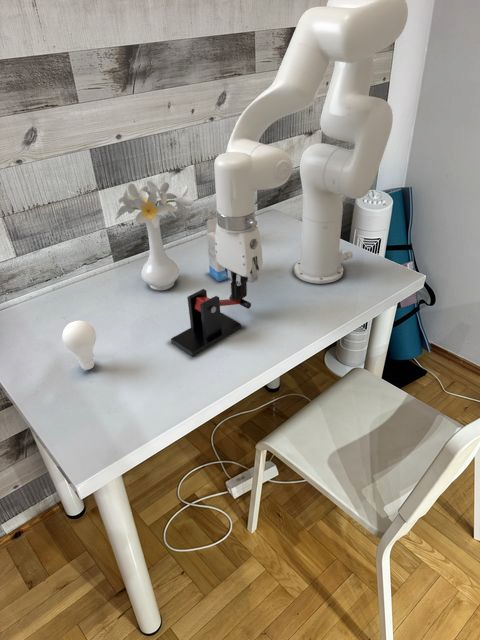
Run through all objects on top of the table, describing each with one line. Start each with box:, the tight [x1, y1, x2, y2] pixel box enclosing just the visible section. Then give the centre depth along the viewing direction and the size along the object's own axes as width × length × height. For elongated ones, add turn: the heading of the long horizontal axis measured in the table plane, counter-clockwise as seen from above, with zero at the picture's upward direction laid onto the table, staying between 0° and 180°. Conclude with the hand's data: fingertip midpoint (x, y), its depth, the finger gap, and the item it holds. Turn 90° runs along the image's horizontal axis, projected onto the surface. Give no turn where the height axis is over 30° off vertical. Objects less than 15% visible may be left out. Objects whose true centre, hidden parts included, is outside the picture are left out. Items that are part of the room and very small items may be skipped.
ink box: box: [206, 218, 229, 282], centre depth 126 cm, size 8×5×15 cm, turn 123°
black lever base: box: [170, 288, 242, 358], centre depth 106 cm, size 14×7×10 cm, turn 136°
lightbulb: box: [61, 320, 97, 371], centre depth 98 cm, size 6×6×11 cm
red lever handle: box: [195, 294, 252, 312], centre depth 108 cm, size 13×6×2 cm, turn 136°
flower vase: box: [114, 180, 194, 291], centre depth 120 cm, size 13×18×25 cm
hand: (239, 297), depth 112 cm, fingers closed
